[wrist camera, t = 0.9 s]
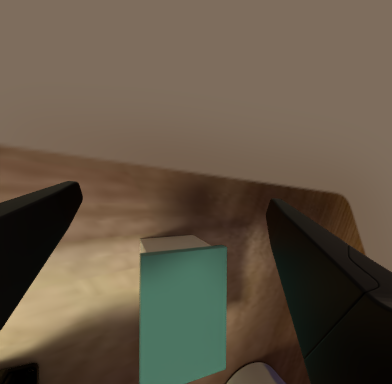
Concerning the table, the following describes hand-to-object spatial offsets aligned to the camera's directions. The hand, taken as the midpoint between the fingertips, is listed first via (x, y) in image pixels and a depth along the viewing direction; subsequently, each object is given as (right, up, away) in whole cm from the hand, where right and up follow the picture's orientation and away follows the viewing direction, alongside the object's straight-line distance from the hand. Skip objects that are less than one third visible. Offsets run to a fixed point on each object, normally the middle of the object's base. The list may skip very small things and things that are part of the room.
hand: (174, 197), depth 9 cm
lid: (0, -10, +7) cm, 12 cm away
